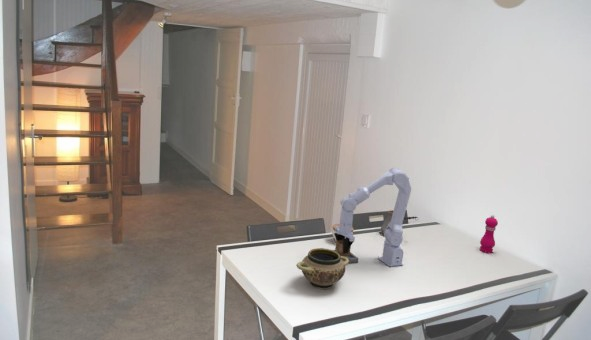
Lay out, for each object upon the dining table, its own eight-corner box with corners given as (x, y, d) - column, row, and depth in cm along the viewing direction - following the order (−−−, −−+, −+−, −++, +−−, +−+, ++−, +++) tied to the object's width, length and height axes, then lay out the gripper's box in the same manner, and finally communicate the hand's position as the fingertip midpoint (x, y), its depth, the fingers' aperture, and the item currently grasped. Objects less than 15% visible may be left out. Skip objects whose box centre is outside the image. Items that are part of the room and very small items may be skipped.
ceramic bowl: (337, 279, 197) (335, 244, 197) (362, 287, 181) (360, 249, 181) (286, 287, 185) (285, 250, 185) (308, 297, 169) (307, 256, 169)
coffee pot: (375, 232, 253) (379, 206, 249) (389, 229, 260) (392, 204, 257) (406, 246, 237) (410, 218, 233) (420, 242, 244) (424, 215, 241)
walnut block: (349, 256, 210) (351, 244, 209) (340, 257, 208) (341, 244, 207) (344, 252, 215) (345, 240, 213) (334, 252, 213) (336, 240, 211)
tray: (357, 262, 209) (358, 258, 209) (336, 264, 205) (337, 260, 204) (345, 253, 219) (346, 248, 218) (325, 255, 214) (326, 250, 214)
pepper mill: (490, 249, 244) (497, 213, 239) (495, 254, 237) (502, 217, 232) (477, 247, 244) (483, 212, 240) (481, 252, 237) (487, 216, 233)
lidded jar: (352, 246, 229) (355, 228, 227) (331, 244, 229) (333, 226, 227) (350, 238, 239) (352, 221, 237) (330, 236, 239) (332, 219, 237)
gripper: (330, 217, 213) (327, 245, 216) (346, 228, 200) (342, 257, 203) (344, 217, 216) (340, 244, 219) (359, 227, 203) (356, 256, 206)
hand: (342, 250), depth 211 cm, fingers closed on walnut block, 5 cm apart
